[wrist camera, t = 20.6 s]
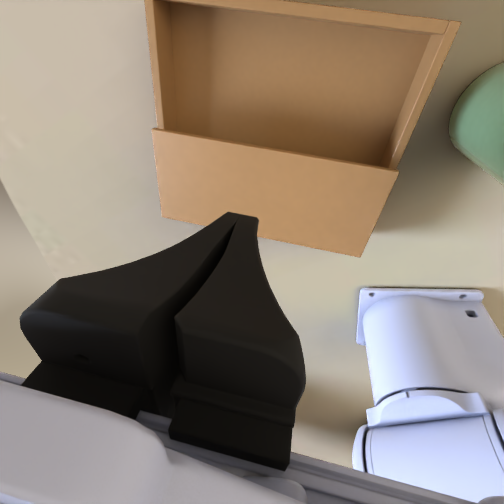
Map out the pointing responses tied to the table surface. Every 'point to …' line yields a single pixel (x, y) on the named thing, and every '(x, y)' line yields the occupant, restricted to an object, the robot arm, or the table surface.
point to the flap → (271, 190)
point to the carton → (295, 74)
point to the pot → (482, 122)
